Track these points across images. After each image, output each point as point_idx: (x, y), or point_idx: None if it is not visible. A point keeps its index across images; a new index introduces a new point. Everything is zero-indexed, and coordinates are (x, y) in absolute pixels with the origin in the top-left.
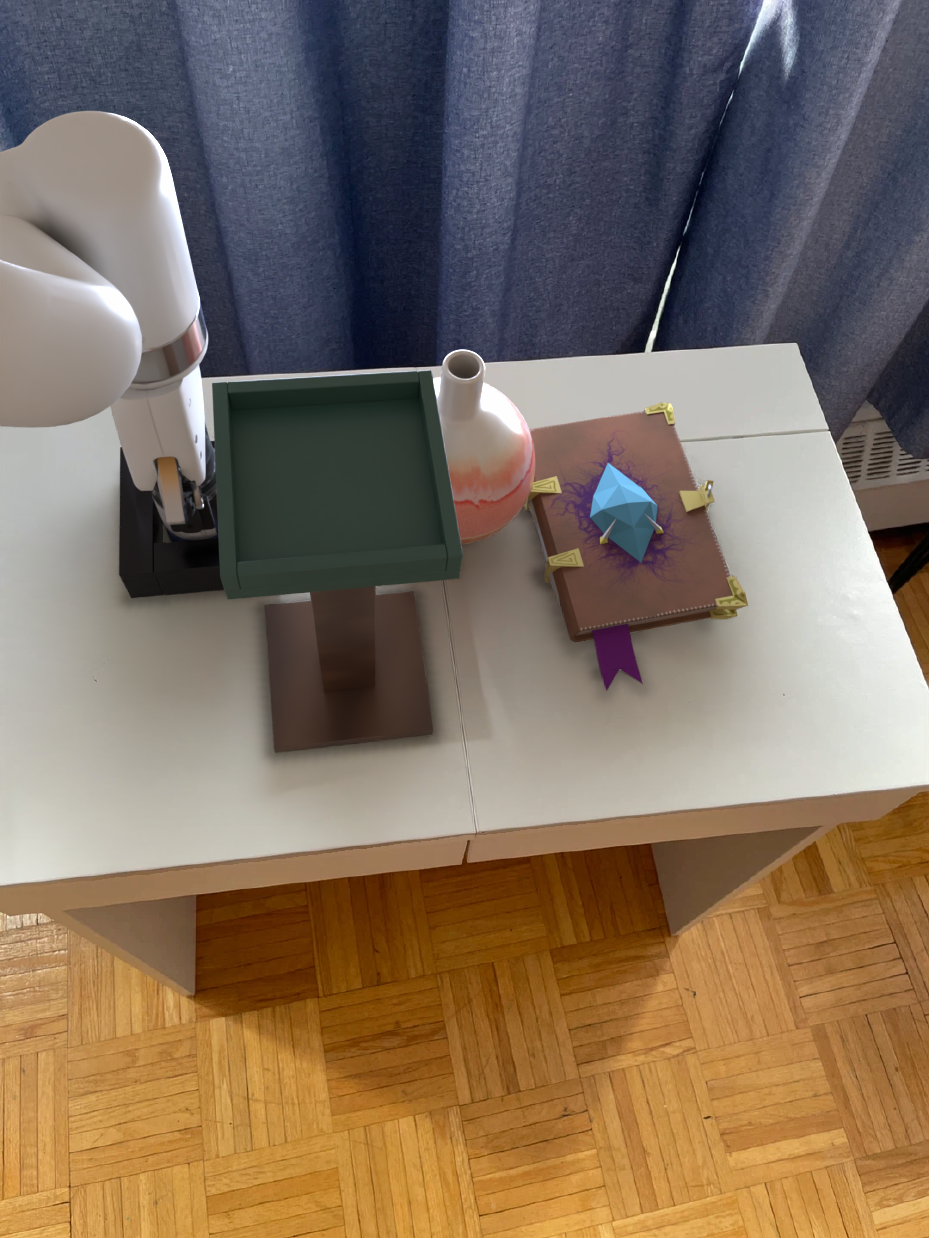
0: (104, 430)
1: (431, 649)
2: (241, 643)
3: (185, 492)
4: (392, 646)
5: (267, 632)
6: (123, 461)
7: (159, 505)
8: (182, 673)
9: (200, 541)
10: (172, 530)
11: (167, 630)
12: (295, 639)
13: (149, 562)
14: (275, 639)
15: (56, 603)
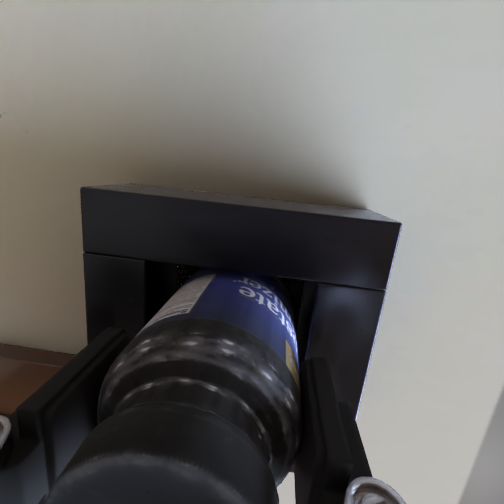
0: (490, 171)
1: None
2: (52, 320)
3: (17, 500)
4: None
5: (41, 365)
6: (359, 226)
7: (146, 327)
8: (11, 241)
9: None
10: (109, 327)
11: (75, 230)
12: (31, 393)
13: (103, 247)
14: (31, 372)
15: (134, 56)
